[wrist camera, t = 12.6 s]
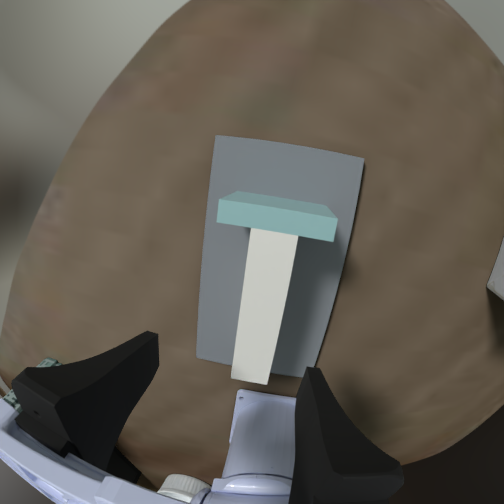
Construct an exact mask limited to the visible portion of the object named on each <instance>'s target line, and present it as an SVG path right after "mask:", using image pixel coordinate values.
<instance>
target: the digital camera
mask: <svg viewBox="0 0 504 504" xmlns="http://www.w3.org/2000/svg"><path fill="white" fill-rule="evenodd" d="M105 472H107V473H109V474H111V475H113V476H115V477H118V478H121V479H124V480H126V481H129V482H131V483H134V484H136V483H137V481H138V479H139V477H140V475H141V472H140V471H139V470H138V469H137V468H136V467H135V466H134V465H133V464H132V463H131V462H130V461H129V460H128V459H127V458H126V457H125V456H124V455H123V454H122V453H121V452H120V451H119V450H118V449H117V448H116V447H114V449H113V452H112V454H111V457H110V459H109V462H108V465H107V468H106V471H105Z"/></svg>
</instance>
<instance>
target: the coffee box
mask: <svg viewBox="0 0 504 504" xmlns="http://www.w3.org/2000/svg"><path fill="white" fill-rule="evenodd" d="M487 288H488V289H490V290H491V291H492V292H493V293H495V294H496V295H497V296H498V297H500V298H501V299H502V300H503V301H504V238H503V241H502V244H501V247H500V251H499V254H498V256H497V259H496V262H495V265H494V268H493V271H492V273H491V276H490V278H489V281H488V283H487Z"/></svg>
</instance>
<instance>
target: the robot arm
mask: <svg viewBox="0 0 504 504" xmlns="http://www.w3.org/2000/svg"><path fill="white" fill-rule="evenodd" d="M158 367H159V346H158V334H156V333H153V332H149V331H146V332H144V333H142V334H140V335H138V336H136V337H134V338H133V339H131V340H129V341H127V342H125V343H123V344H121V345H119V346H117V347H115V348H113V349H111V350H109V351H106V352H104V353H102V354H100V355H97V356H94V357H92V358H88V359H85V360H82V361H78V362H74V363H70V364H65V365H59V366H51V367H27V368H26V369H24V370H23V371H22V372H21V373H20V374H19V375H18V376H17V377H16V378H15V379H13V380H12V383H11V384H12V389H13V392H14V394H15V396H16V398H17V400H18V402H19V404H20V406H21V408H22V410H23V411H22V412H21V413H20V414H19V413H18V411H17V410H16V409H15V408H14V407H12V406H11V405H10V404H9V403H7V402H6V401H5V400H4V399H2V398H1V399H0V458H1V459H2V460H3V461H4V462H5V463H6V464H7V465H8V466H10V467H11V468H12V469H13V470H14V471H15V472H16V473H18V474H19V475H20V476H21V477H22V478H24V479H25V480H26V481H27V482H28V483H30V484H31V485H32V486H33V487H35V488H36V489H37V490H38V491H40V492H41V493H43V494H44V495H45V496H46V497H48V498H49V499H51V500H52V501H53V502H55V503H56V504H389V501H388V498H389V497H390V496H391V495H393V494H394V493H395V492H396V491H397V490H398V489H399V488H400V487H401V486H402V485H403V483H404V477H403V472H402V468H401V465H400V462H399V461H397V460H395V459H394V458H392V457H391V456H389V455H388V454H386V453H385V452H383V451H382V450H381V449H379V448H378V447H377V446H375V445H374V444H373V443H372V442H371V441H370V440H368V439H367V438H366V437H365V436H364V435H363V434H362V433H361V432H360V431H359V430H358V429H357V428H356V426H355V425H354V424H353V423H352V422H351V420H350V419H349V418H348V417H347V415H346V414H345V412H344V411H343V409H342V408H341V406H340V405H339V403H338V402H337V400H336V398H335V397H334V395H333V393H332V391H331V390H330V388H329V386H328V384H327V382H326V380H325V378H324V376H323V374H322V372H321V370H320V368H315V367H308V366H307V367H306V370H305V373H304V376H303V379H302V382H301V384H300V387H299V390H298V393H297V396H296V398H293V397H286V396H279V395H273V394H267V393H261V392H255V391H250V390H244V389H240V390H238V392H237V397H236V403H235V409H234V416H233V422H232V428H231V434H230V440H229V442H230V443H231V444H230V448H229V451H228V455H227V459H226V463H225V467H224V470H223V474H222V478H221V479H214V481H213V485H212V488H203V489H202V490H200V491H199V492H198V493H197V494H195V495H194V497H193V498H192V499H191V501H190V503H188V502H185V501H182V500H179V499H175V498H172V497H169V496H166V495H163V494H160V493H157V492H154V491H152V490H149V489H146V488H144V487H141V486H139V485H136V484H134V483H131V482H129V481H126V480H124V479H121V478H118V477H115V476H113V475H111V474H109V473H107V472H105V471H106V468H107V465H108V462H109V459H110V457H111V454H112V452H113V449H114V447H115V444H116V442H117V440H118V437H119V435H120V433H121V431H122V429H123V427H124V425H125V423H126V420H127V418H128V417H129V415H130V413H131V412H132V410H133V408H134V407H135V405H136V404H137V403H138V401H139V400H140V398H141V397H142V395H143V394H144V392H145V391H146V389H147V388H148V386H149V385H150V383H151V381H152V380H153V378H154V376H155V373H156V371H157V369H158ZM241 397H243V398H241Z"/></svg>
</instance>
